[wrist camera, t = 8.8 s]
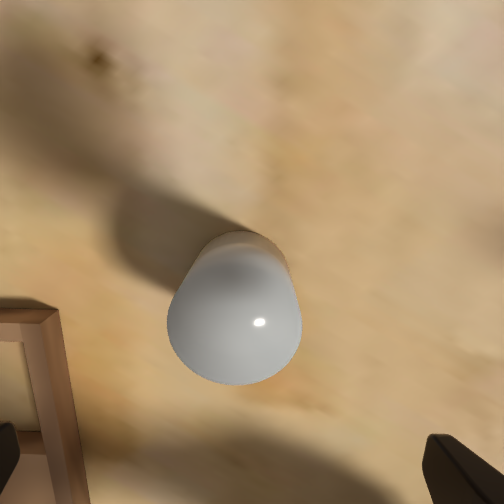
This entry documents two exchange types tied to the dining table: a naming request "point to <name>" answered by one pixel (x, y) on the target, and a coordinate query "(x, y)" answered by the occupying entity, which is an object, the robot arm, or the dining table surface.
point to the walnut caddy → (45, 416)
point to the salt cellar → (236, 311)
